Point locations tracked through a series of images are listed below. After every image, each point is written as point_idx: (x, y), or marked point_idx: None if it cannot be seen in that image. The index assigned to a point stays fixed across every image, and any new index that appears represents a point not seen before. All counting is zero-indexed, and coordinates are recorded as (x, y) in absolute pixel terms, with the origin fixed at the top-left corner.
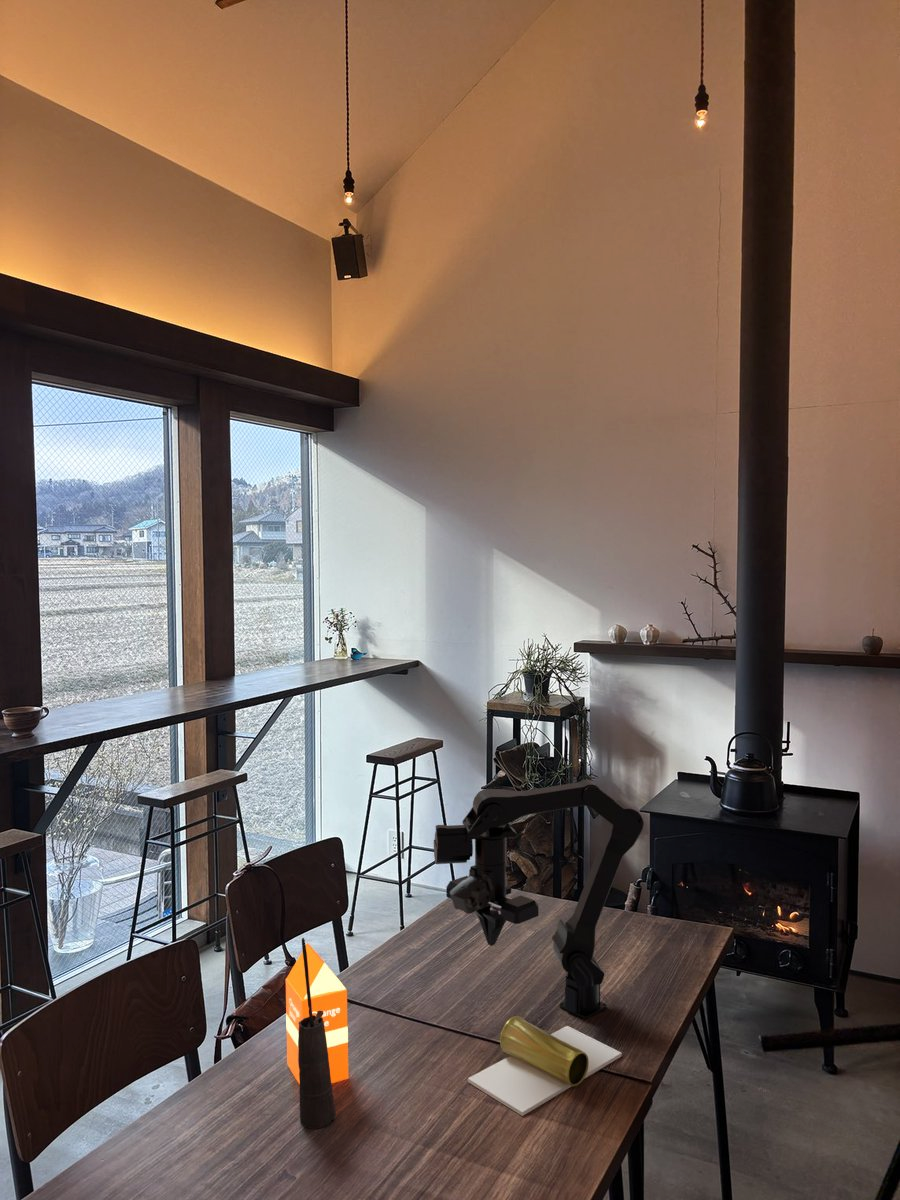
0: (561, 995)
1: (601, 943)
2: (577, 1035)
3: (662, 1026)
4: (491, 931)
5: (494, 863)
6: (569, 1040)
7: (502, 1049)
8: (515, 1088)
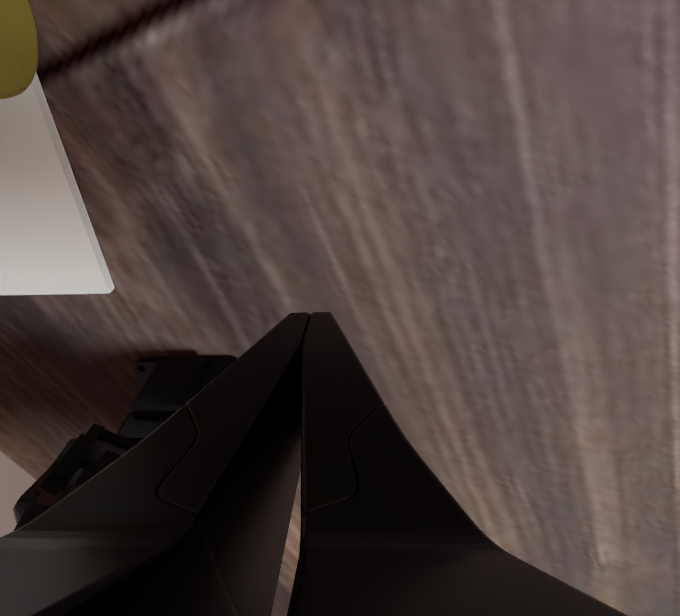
0: None
1: None
2: (41, 275)
3: (27, 447)
4: (201, 398)
5: None
6: (20, 235)
7: None
8: None
